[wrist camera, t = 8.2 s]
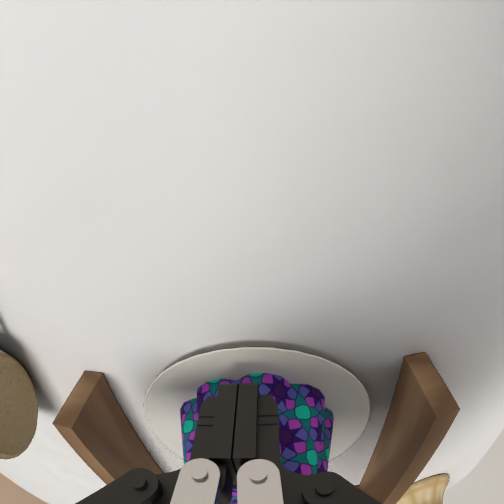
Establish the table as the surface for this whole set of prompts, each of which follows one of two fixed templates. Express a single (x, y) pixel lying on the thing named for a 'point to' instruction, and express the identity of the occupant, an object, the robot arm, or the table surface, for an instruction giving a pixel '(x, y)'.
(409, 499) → the hand bell
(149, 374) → the table surface
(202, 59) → the table surface
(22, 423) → the ceramic mug
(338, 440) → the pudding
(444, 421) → the corral
